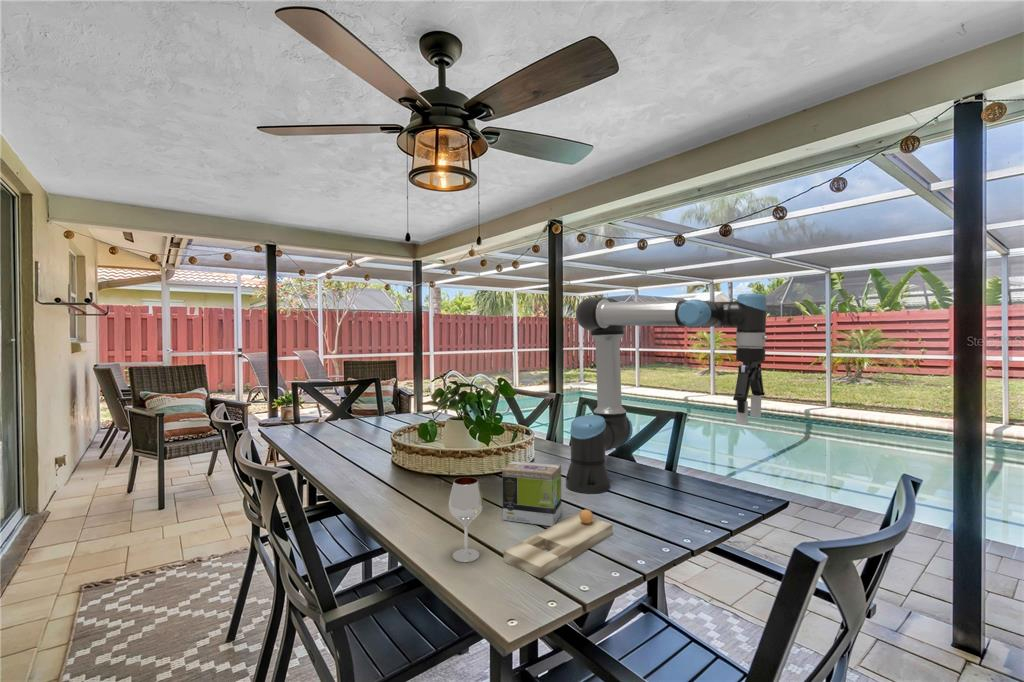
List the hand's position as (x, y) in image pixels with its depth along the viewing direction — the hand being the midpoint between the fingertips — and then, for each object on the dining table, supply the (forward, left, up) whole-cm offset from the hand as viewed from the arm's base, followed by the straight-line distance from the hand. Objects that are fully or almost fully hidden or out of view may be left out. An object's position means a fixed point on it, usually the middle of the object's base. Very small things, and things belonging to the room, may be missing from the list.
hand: (748, 420), depth 137 cm
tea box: (-45, -45, -28) cm, 69 cm away
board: (-28, -54, -27) cm, 66 cm away
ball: (-28, -43, -23) cm, 56 cm away
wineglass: (-42, -73, -27) cm, 88 cm away
